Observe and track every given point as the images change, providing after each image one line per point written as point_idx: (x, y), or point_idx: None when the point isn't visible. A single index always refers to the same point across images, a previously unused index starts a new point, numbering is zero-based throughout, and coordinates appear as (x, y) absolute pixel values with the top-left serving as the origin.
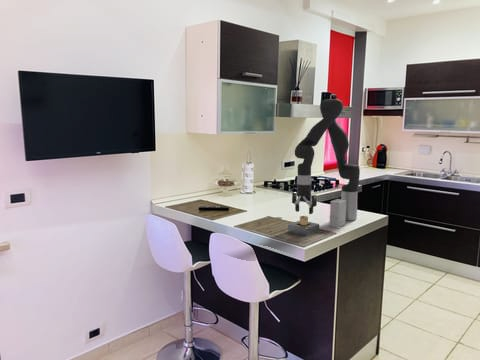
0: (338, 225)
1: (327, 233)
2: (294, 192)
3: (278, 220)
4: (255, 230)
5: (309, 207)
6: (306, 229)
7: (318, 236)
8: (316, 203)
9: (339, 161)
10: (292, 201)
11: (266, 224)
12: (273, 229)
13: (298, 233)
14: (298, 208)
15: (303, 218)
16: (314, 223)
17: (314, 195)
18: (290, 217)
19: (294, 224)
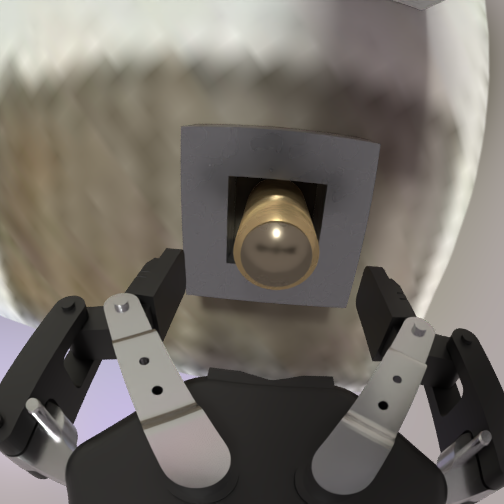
0: (430, 6)
1: (423, 157)
2: (24, 469)
3: (27, 114)
4: None
5: (377, 359)
6: (344, 304)
7: (397, 243)
8: (484, 359)
9: None
10: (78, 361)
11: (40, 222)
12: (116, 275)
13: None
14: (174, 281)
15: (291, 285)
16: (339, 149)
17: (495, 489)
18: (42, 17)
19: (219, 269)
